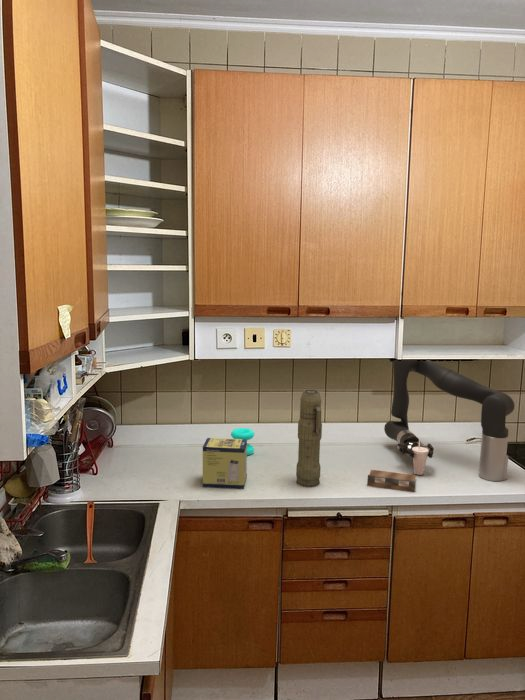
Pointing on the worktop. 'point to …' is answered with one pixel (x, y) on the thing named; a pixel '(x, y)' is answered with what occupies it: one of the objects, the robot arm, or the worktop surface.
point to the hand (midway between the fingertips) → (422, 455)
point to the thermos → (309, 439)
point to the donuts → (244, 437)
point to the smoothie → (419, 459)
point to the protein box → (225, 463)
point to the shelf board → (391, 480)
